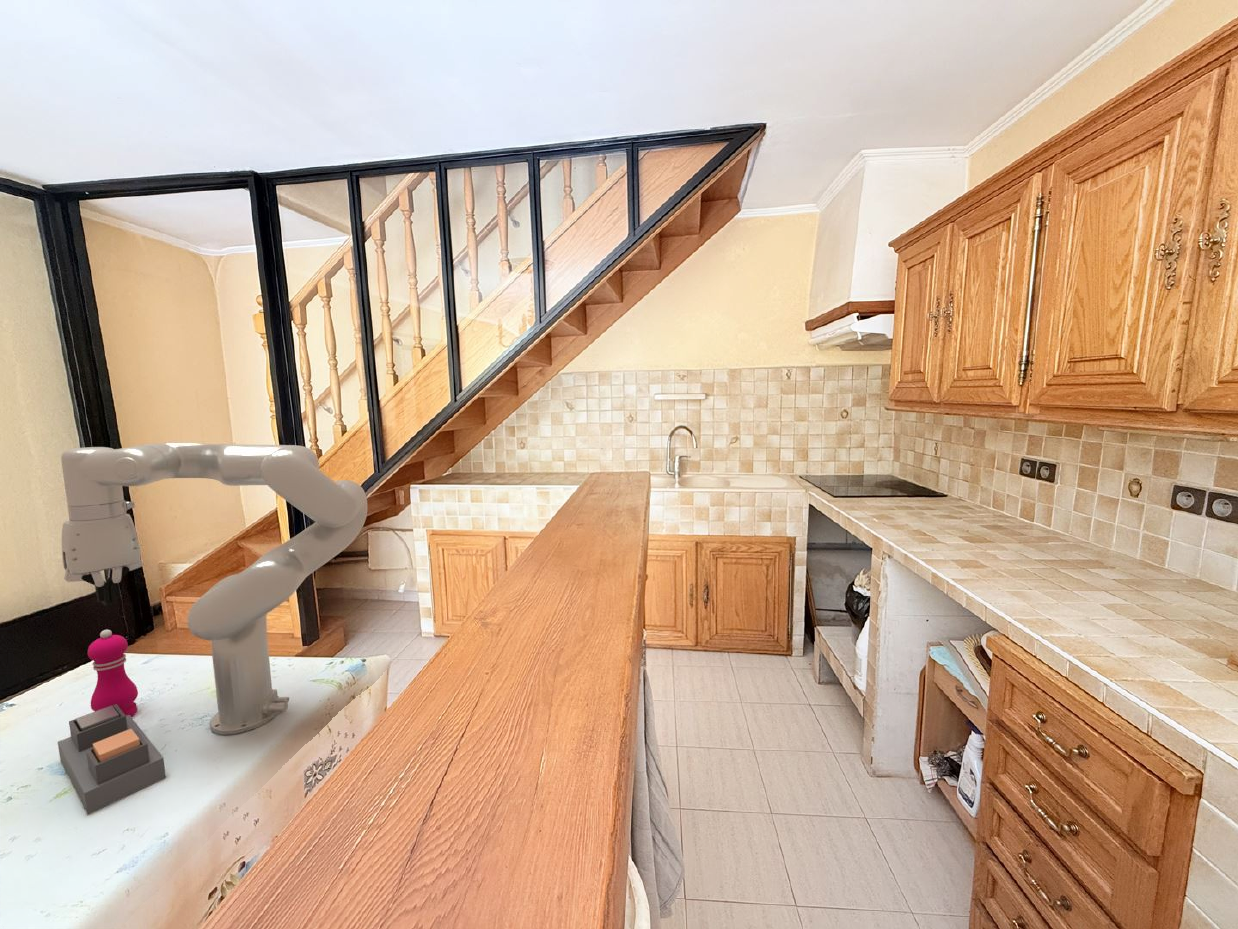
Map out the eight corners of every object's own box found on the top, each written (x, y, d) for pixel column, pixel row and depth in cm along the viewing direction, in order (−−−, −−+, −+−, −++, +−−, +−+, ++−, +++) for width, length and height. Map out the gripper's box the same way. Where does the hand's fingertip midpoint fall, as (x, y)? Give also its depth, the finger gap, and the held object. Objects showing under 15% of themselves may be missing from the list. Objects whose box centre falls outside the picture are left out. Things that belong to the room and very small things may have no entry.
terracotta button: (141, 754, 89) (139, 738, 89) (101, 771, 85) (99, 755, 85) (133, 743, 92) (131, 728, 92) (94, 759, 88) (92, 743, 88)
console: (166, 777, 91) (161, 740, 90) (87, 815, 83) (81, 774, 82) (131, 732, 104) (127, 699, 103) (60, 761, 95) (54, 724, 94)
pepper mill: (110, 730, 104) (97, 639, 102) (84, 725, 106) (70, 636, 103) (149, 709, 111) (138, 624, 109) (123, 705, 113) (112, 621, 110)
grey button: (120, 728, 97) (118, 714, 97) (83, 743, 93) (81, 728, 93) (113, 719, 100) (111, 705, 100) (77, 733, 96) (75, 718, 96)
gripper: (142, 502, 104) (152, 587, 106) (34, 516, 92) (47, 611, 94) (155, 507, 100) (165, 594, 103) (43, 522, 88) (57, 621, 90)
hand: (109, 602), depth 98 cm, fingers closed
